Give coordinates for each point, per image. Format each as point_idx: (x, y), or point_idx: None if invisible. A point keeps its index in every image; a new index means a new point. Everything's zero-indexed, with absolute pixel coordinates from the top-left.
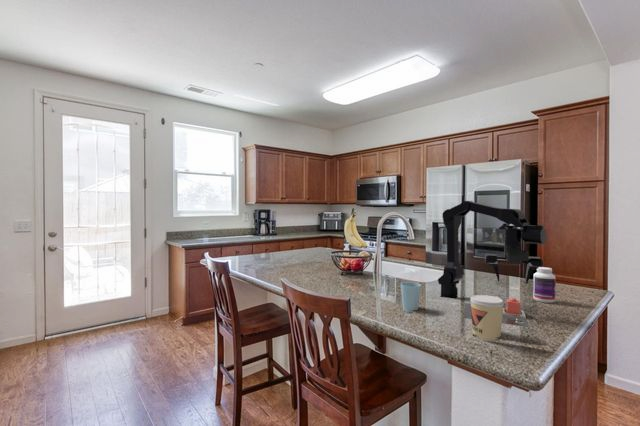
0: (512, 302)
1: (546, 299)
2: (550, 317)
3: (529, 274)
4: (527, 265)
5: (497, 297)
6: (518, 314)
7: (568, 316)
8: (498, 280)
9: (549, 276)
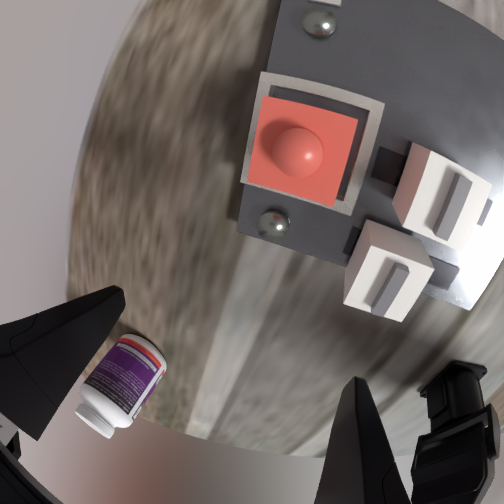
0: (320, 109)
1: (134, 341)
2: (144, 186)
3: (32, 323)
4: (30, 427)
5: (354, 289)
6: (295, 88)
7: (99, 215)
8: (363, 381)
9: (87, 393)
